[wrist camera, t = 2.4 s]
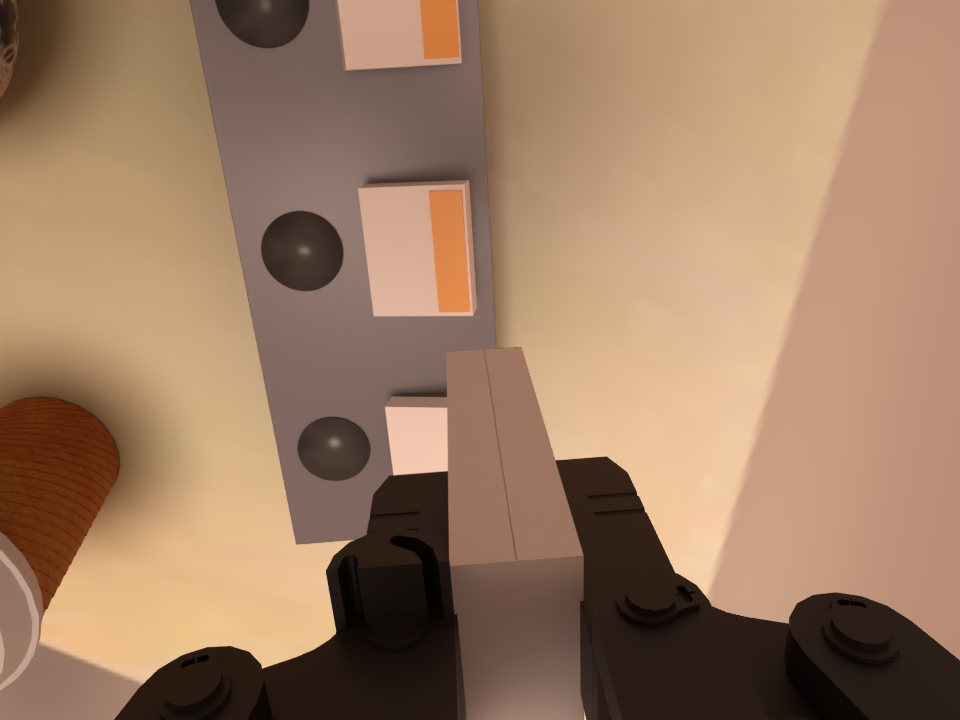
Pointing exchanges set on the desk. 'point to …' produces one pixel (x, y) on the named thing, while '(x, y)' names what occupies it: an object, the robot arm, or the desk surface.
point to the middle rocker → (419, 248)
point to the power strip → (337, 233)
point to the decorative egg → (8, 41)
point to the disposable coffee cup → (44, 511)
